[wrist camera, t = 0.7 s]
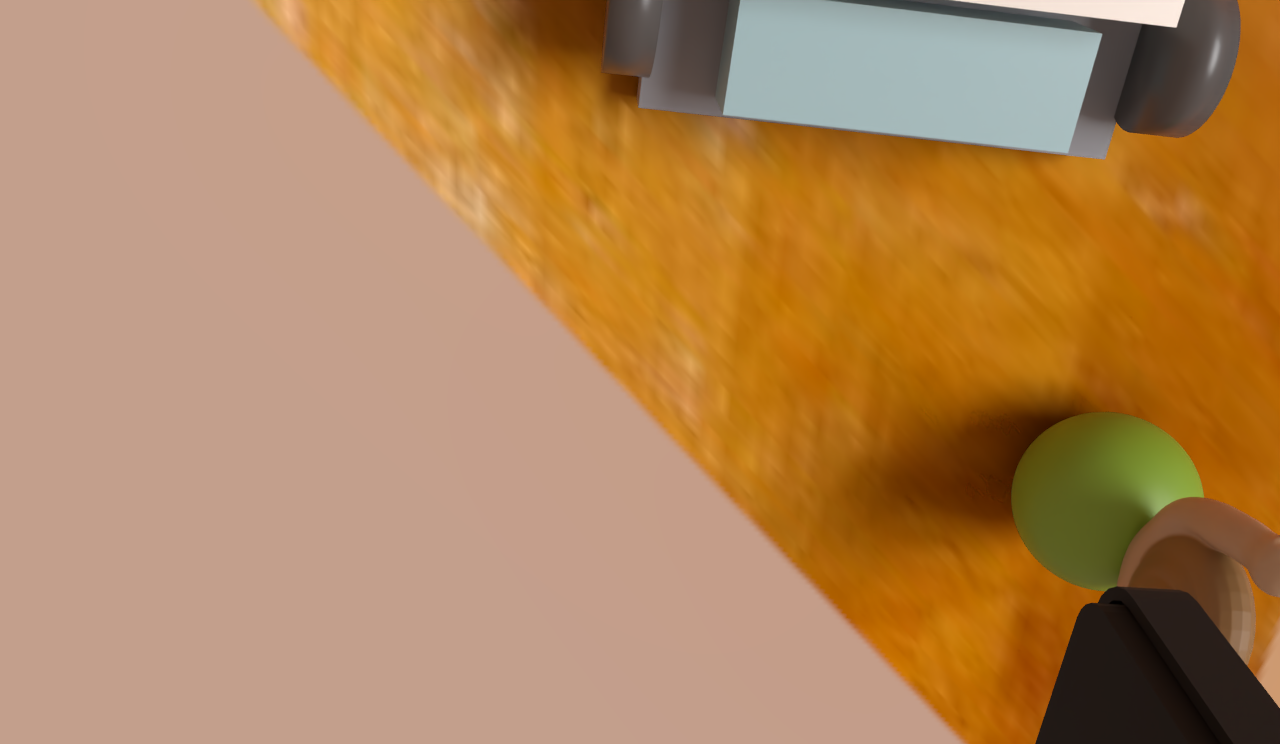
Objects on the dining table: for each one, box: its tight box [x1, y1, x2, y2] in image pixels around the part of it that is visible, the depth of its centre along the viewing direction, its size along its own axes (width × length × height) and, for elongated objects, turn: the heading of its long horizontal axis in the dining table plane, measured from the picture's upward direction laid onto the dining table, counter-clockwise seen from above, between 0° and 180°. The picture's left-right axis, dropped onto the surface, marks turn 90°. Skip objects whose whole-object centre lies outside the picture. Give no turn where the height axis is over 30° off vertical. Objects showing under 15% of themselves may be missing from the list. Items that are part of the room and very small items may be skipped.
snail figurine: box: [1011, 412, 1280, 665], centre depth 31 cm, size 5×6×12 cm
